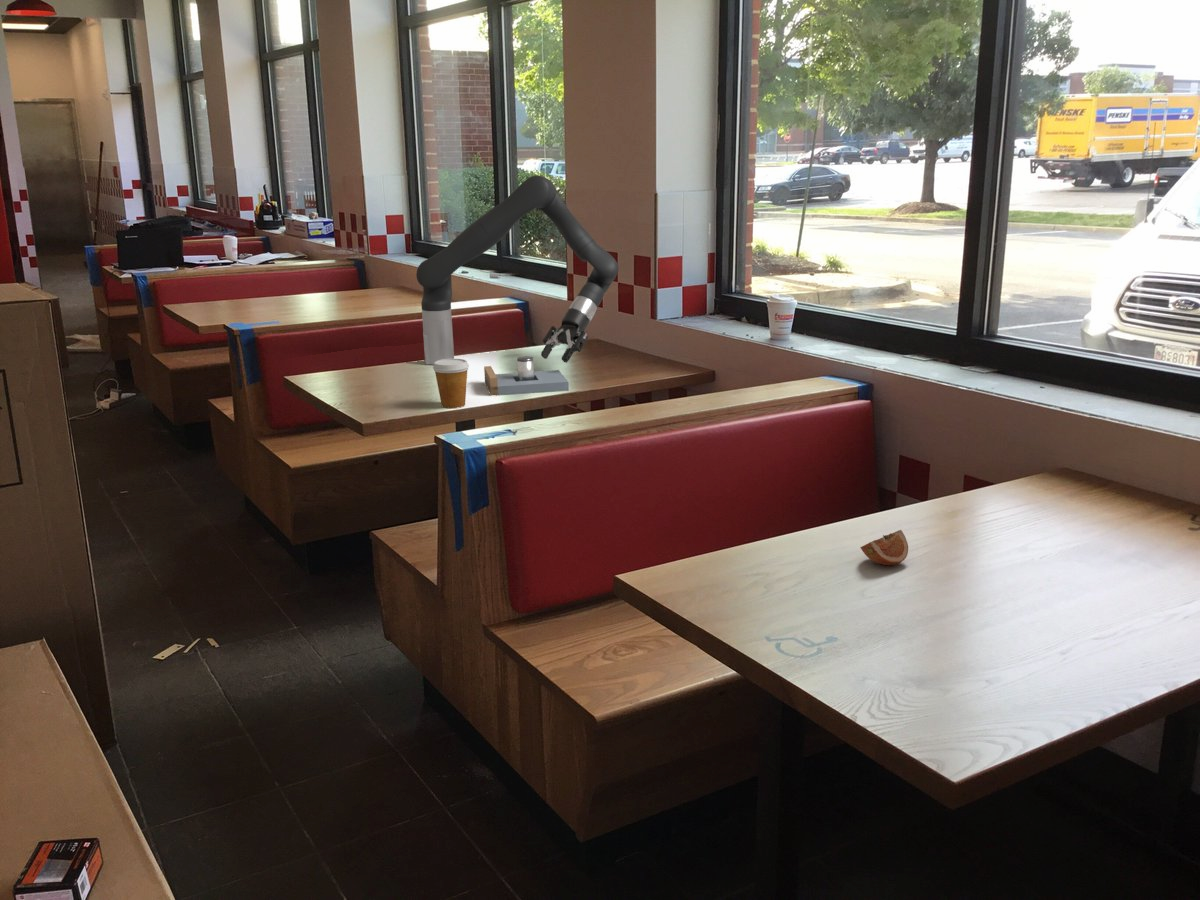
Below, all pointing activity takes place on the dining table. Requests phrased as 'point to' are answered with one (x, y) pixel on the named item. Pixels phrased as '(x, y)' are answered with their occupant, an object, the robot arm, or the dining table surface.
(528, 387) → the jig
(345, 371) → the dining table surface
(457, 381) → the disposable coffee cup
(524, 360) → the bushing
